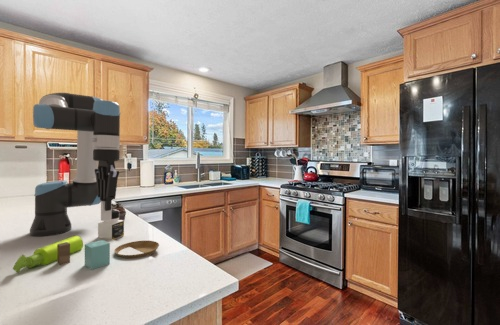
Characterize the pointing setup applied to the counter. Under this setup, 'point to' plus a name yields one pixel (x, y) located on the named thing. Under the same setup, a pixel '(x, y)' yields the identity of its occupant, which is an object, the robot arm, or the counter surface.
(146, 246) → the plant saucer
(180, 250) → the counter surface
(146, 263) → the counter surface
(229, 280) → the counter surface
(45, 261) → the soap dispenser
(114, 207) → the cupcake
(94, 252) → the teal foam cube
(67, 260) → the post walnut
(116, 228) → the medicine bottle
